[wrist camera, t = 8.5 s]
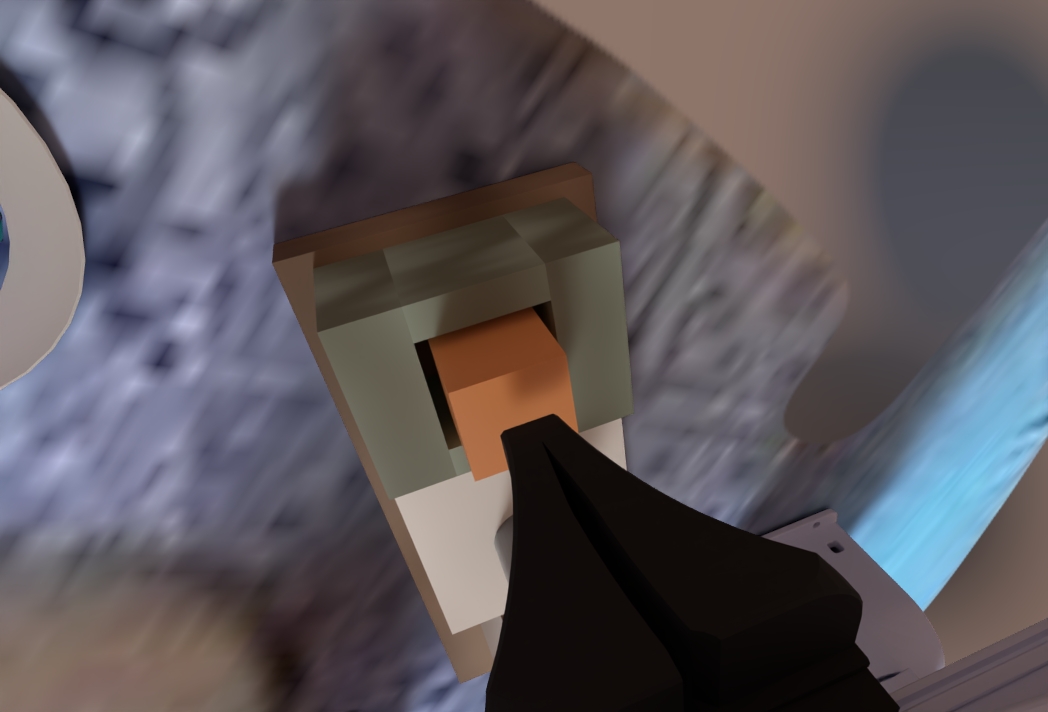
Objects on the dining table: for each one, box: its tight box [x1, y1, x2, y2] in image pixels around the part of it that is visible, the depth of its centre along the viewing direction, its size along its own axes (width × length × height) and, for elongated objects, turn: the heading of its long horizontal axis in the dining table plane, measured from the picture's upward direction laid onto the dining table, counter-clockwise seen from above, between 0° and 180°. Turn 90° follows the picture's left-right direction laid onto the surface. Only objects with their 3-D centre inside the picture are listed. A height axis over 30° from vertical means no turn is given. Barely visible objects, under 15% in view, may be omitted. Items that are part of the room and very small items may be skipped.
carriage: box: [395, 418, 627, 635], centre depth 21 cm, size 8×8×7 cm
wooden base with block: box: [272, 162, 634, 684], centre depth 24 cm, size 10×24×6 cm, turn 10°
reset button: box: [428, 307, 579, 482], centre depth 17 cm, size 3×3×3 cm
